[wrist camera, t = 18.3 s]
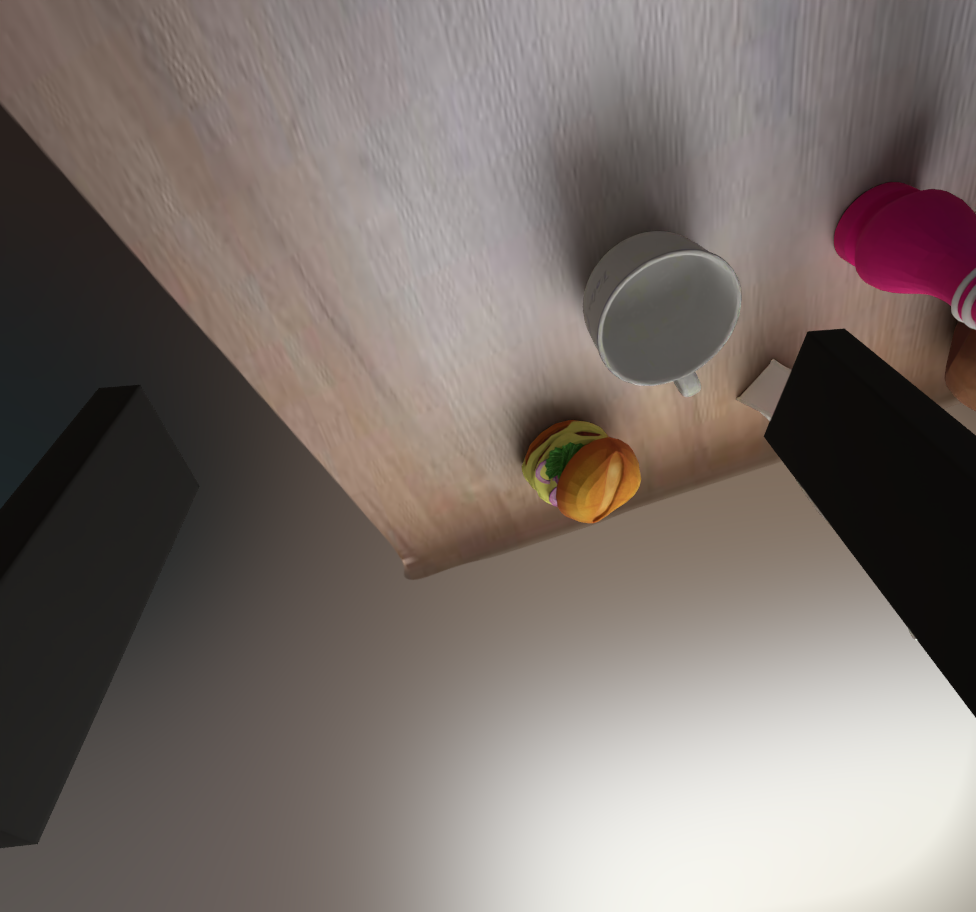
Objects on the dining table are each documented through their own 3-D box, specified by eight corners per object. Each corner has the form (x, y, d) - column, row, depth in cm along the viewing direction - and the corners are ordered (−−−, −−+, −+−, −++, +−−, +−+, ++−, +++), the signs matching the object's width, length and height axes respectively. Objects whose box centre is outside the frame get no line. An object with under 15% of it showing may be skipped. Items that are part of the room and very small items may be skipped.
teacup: (561, 244, 41) (584, 287, 36) (697, 192, 40) (745, 228, 34) (595, 379, 51) (617, 431, 45) (706, 342, 49) (746, 391, 43)
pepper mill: (810, 264, 44) (1001, 402, 30) (856, 171, 40) (1112, 280, 25) (886, 268, 45) (1109, 403, 31) (940, 177, 41) (1236, 285, 26)
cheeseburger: (503, 433, 54) (540, 492, 46) (594, 386, 54) (646, 438, 46) (531, 495, 60) (568, 556, 53) (612, 453, 61) (660, 508, 53)
